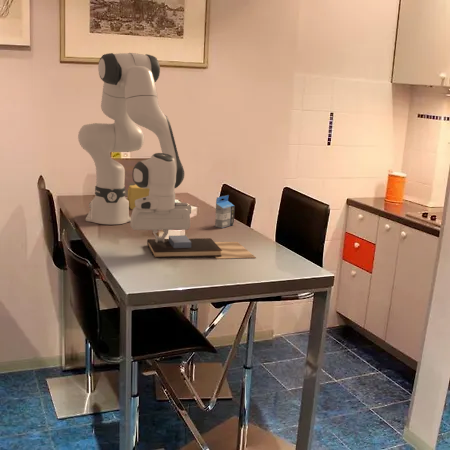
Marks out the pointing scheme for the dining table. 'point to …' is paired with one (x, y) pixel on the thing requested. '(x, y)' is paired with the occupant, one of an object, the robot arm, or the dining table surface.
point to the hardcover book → (185, 249)
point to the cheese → (136, 194)
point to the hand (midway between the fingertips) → (159, 242)
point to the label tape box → (224, 212)
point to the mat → (233, 251)
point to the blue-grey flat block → (180, 241)
